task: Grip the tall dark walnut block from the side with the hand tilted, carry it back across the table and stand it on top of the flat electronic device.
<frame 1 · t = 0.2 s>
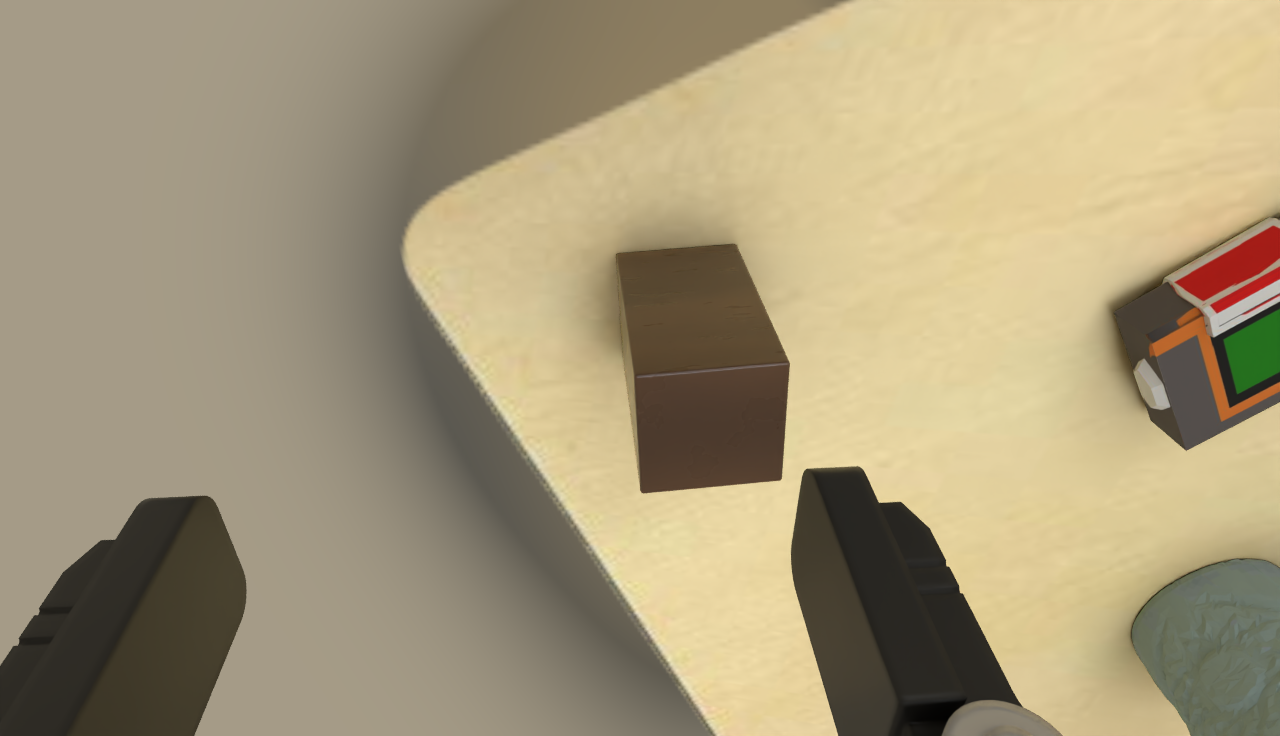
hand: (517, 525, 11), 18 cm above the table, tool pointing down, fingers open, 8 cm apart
green cup: (1210, 609, 44), on the table
walnut block: (677, 301, 30), on the table
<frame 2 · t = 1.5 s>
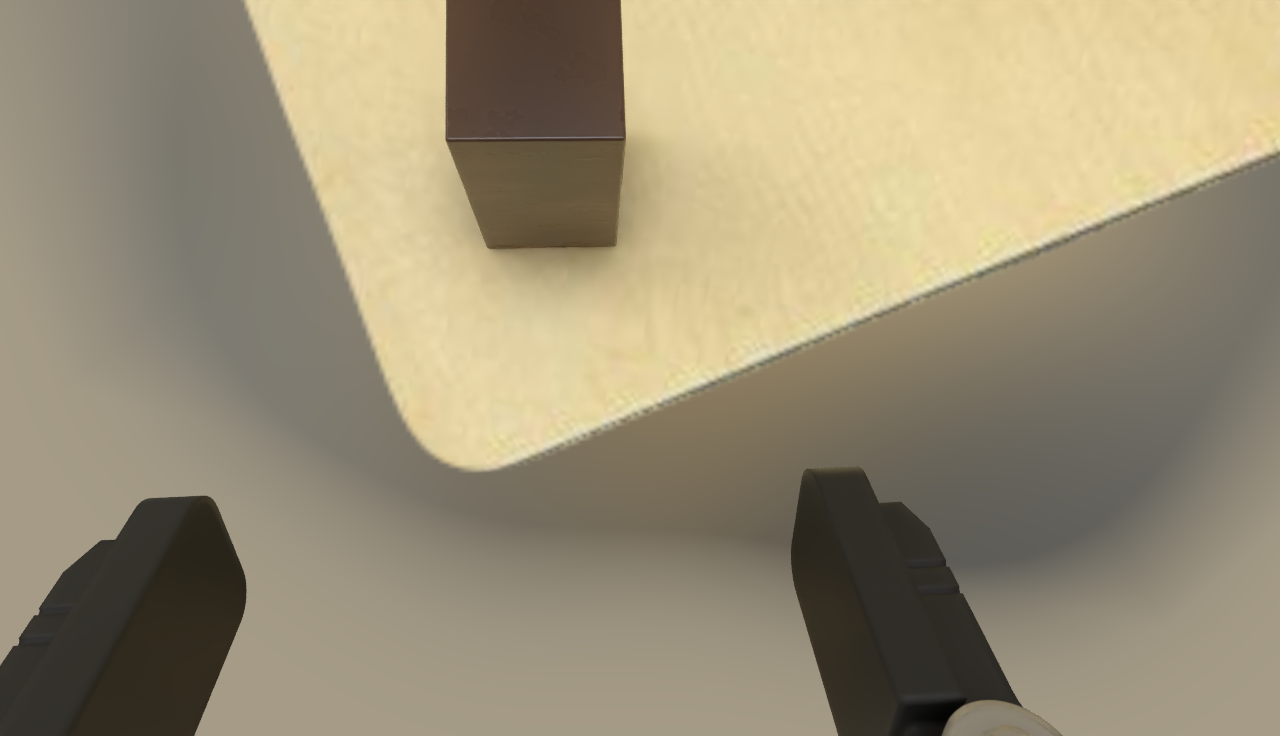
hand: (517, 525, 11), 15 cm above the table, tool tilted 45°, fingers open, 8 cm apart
walnut block: (550, 187, 28), on the table
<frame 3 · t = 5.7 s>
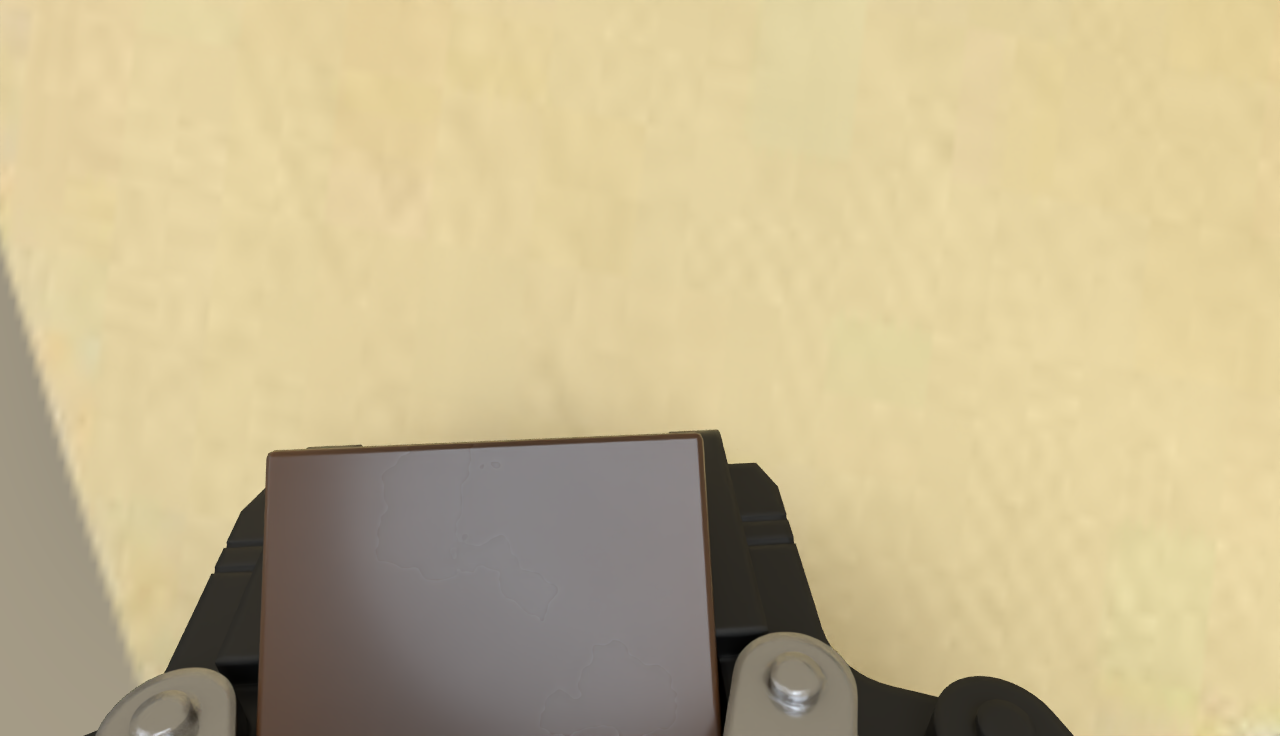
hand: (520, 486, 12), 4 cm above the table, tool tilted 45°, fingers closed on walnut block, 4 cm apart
walnut block: (543, 594, 16), on the table, touching gripper
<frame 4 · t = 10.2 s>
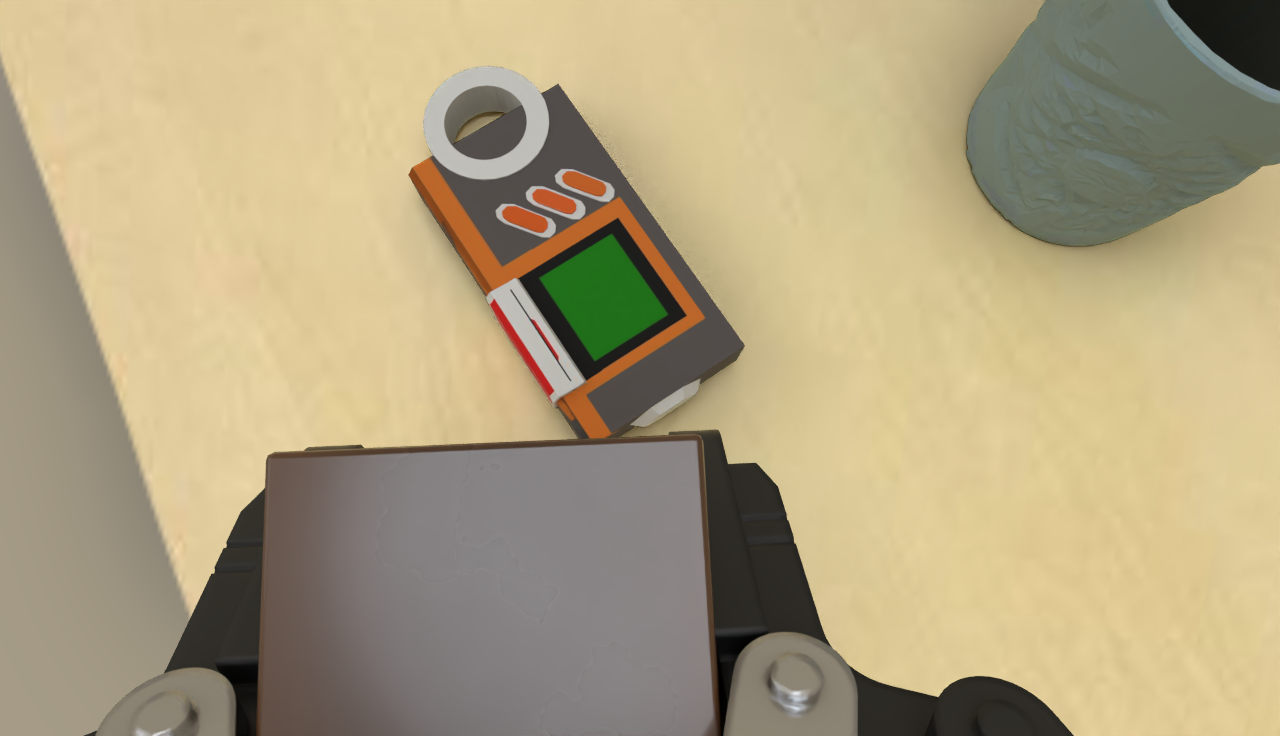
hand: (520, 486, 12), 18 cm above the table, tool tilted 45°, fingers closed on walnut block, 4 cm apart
green cup: (1060, 146, 34), on the table
walnut block: (543, 595, 16), point 14 cm above the table, touching gripper
electronic device: (561, 257, 32), on the table
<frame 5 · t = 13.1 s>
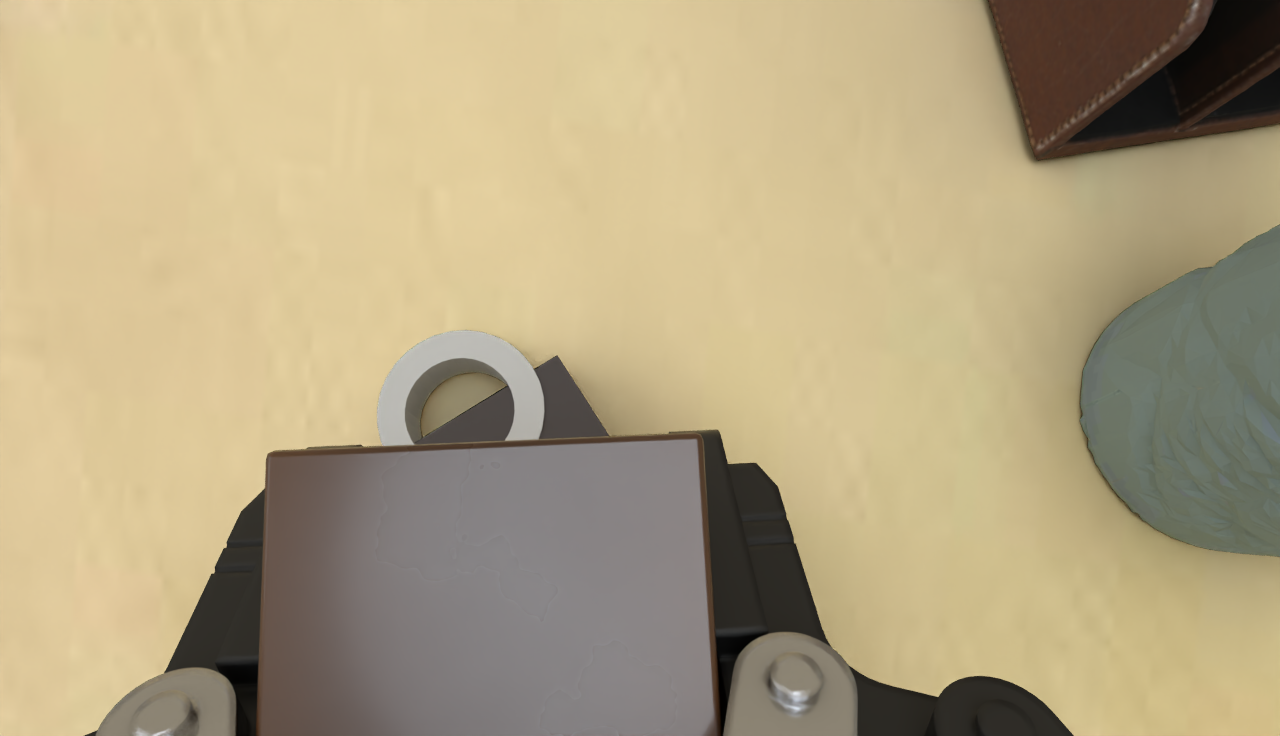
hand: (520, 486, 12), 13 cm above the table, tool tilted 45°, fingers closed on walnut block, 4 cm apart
green cup: (1198, 409, 26), on the table
walnut block: (543, 594, 16), point 9 cm above the table, touching gripper
electronic device: (559, 568, 24), on the table
when the fingers open (7 cm above the table, at t = 15.1 s): walnut block stays where it is, resting on electronic device.
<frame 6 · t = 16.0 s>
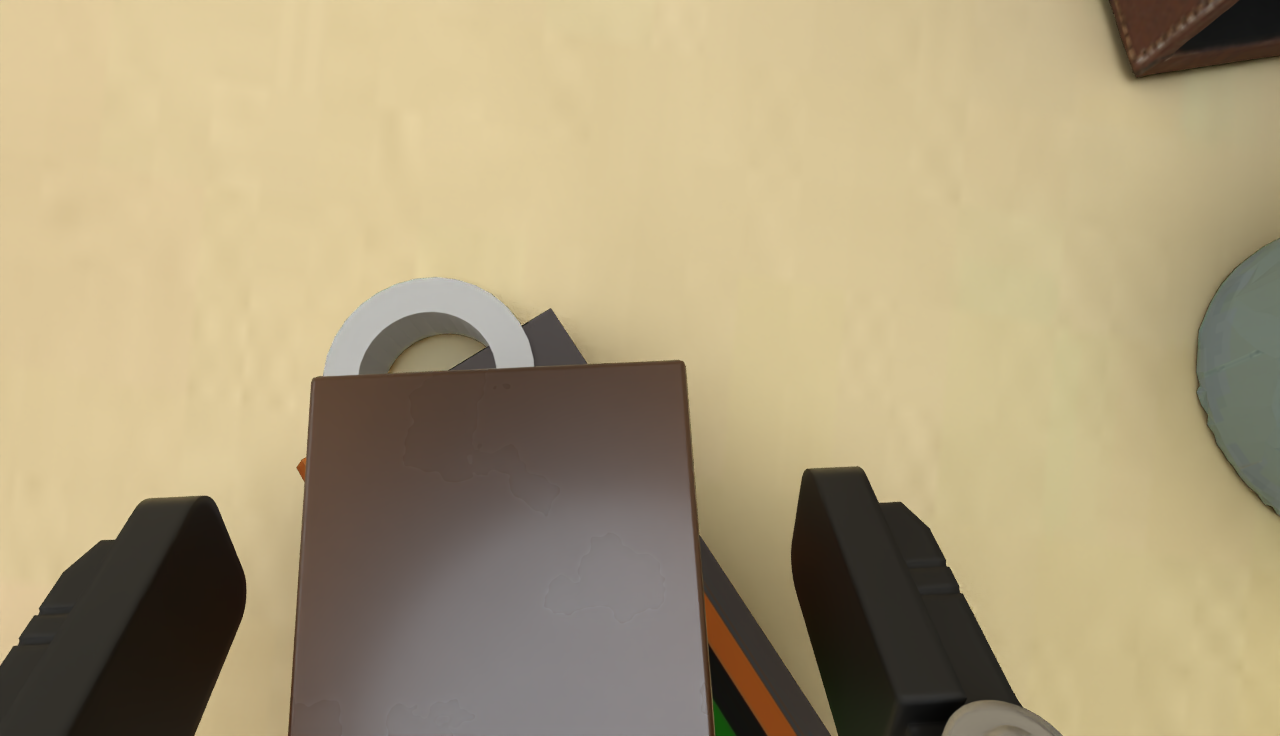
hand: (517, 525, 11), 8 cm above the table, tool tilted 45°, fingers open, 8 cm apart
walnut block: (551, 586, 16), point 3 cm above the table, tilted 7°, touching electronic device
electronic device: (555, 576, 19), on the table, touching walnut block
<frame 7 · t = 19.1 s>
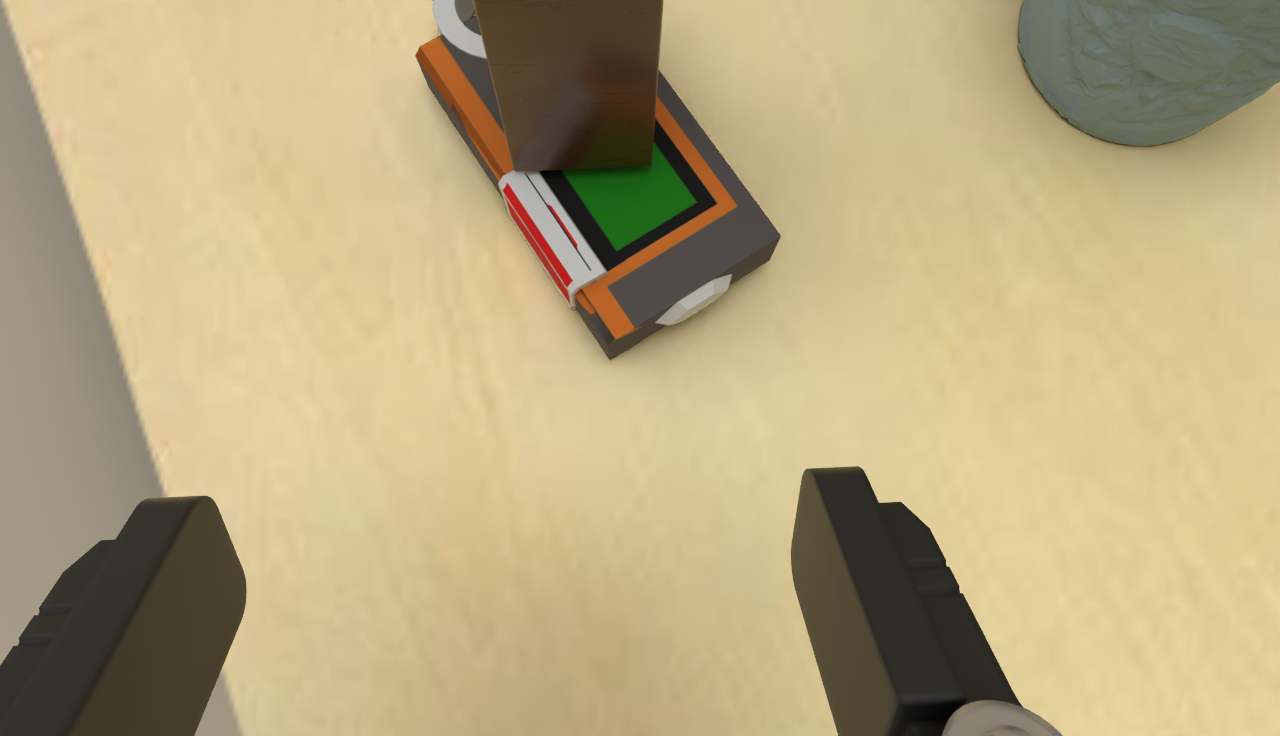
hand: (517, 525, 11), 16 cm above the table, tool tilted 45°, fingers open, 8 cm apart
green cup: (1120, 41, 31), on the table
walnut block: (580, 110, 26), point 3 cm above the table, tilted 6°, touching electronic device
electronic device: (580, 153, 29), on the table, touching walnut block
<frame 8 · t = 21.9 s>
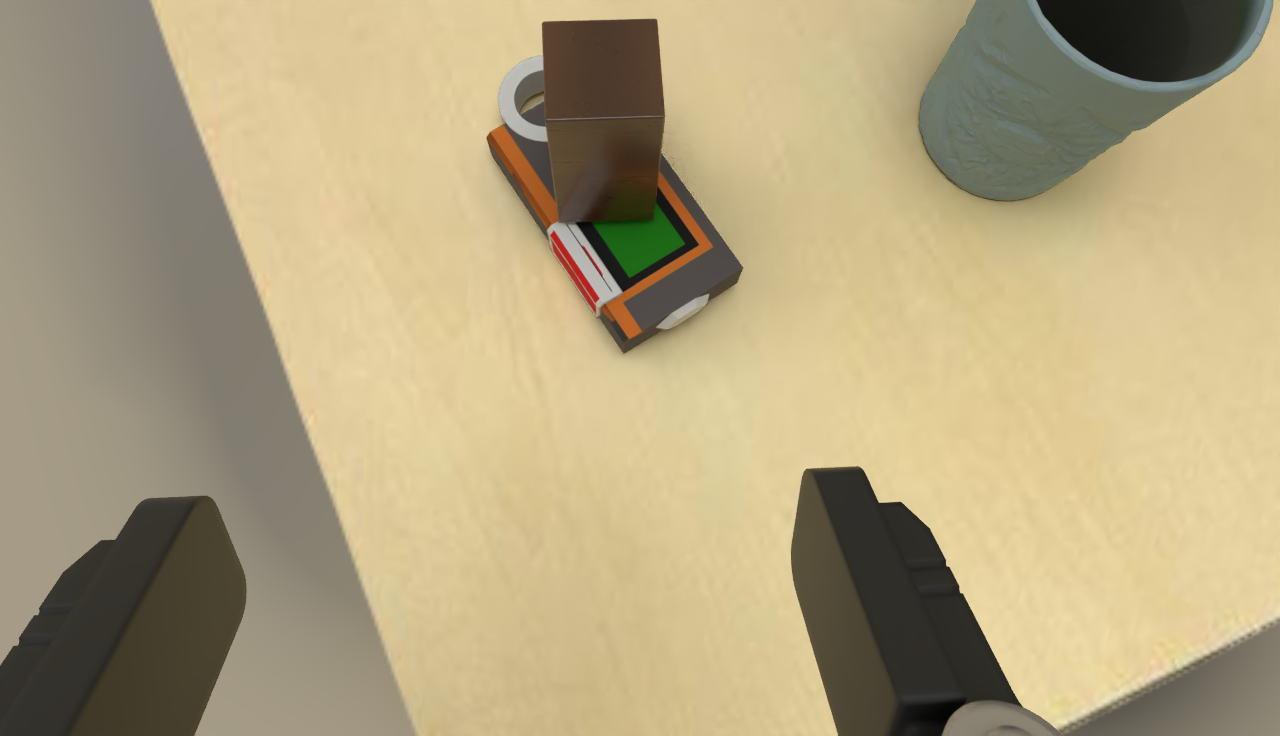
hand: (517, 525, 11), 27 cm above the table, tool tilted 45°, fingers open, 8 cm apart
green cup: (994, 123, 43), on the table
walnut block: (604, 179, 38), point 3 cm above the table, tilted 6°, touching electronic device
electronic device: (601, 204, 41), on the table, touching walnut block
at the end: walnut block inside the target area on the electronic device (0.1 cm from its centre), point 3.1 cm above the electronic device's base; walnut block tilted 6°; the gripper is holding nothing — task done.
